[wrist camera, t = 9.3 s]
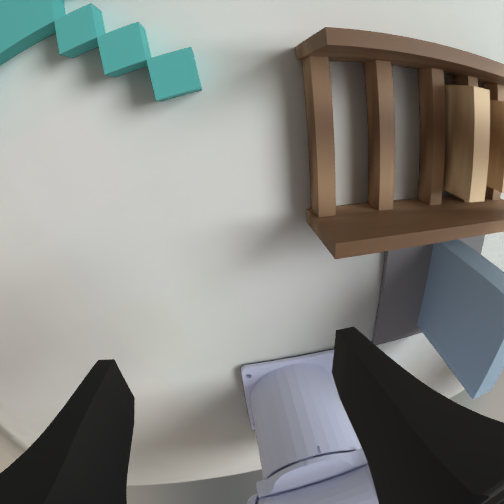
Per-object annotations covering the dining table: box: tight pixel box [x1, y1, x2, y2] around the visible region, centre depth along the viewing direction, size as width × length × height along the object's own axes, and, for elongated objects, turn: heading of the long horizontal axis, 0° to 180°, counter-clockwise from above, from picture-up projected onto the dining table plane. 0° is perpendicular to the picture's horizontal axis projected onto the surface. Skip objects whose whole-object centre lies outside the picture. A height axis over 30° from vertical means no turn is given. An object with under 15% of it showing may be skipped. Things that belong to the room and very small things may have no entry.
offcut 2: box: [486, 100, 504, 193], centre depth 16 cm, size 6×2×4 cm, turn 5°
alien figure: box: [0, 0, 202, 101], centre depth 10 cm, size 20×2×20 cm
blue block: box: [417, 239, 504, 399], centre depth 18 cm, size 8×2×9 cm, turn 6°
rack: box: [295, 27, 504, 259], centre depth 15 cm, size 10×16×5 cm, turn 95°
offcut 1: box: [443, 85, 490, 202], centre depth 16 cm, size 7×2×4 cm, turn 5°
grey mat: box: [372, 235, 485, 345], centre depth 22 cm, size 10×10×1 cm
